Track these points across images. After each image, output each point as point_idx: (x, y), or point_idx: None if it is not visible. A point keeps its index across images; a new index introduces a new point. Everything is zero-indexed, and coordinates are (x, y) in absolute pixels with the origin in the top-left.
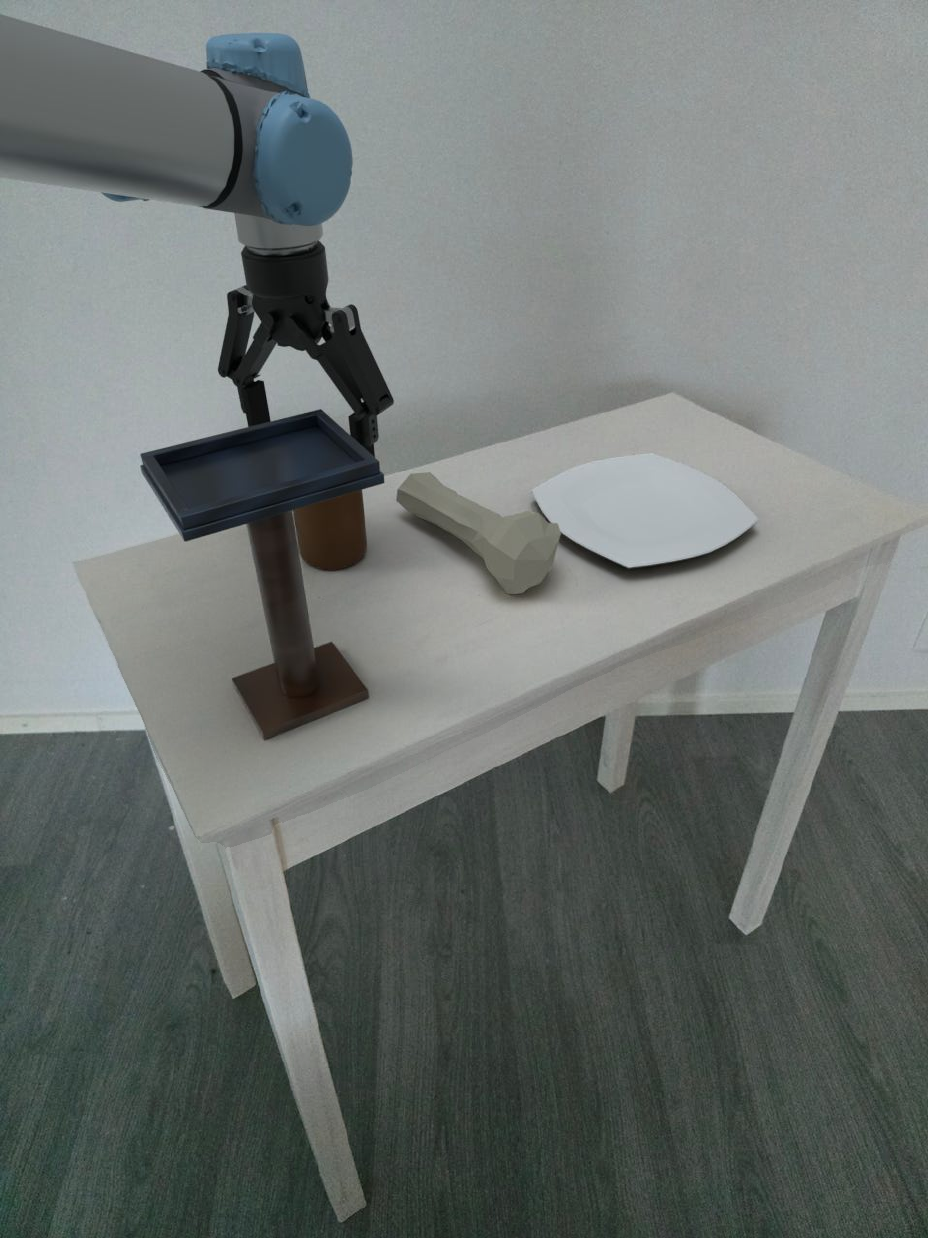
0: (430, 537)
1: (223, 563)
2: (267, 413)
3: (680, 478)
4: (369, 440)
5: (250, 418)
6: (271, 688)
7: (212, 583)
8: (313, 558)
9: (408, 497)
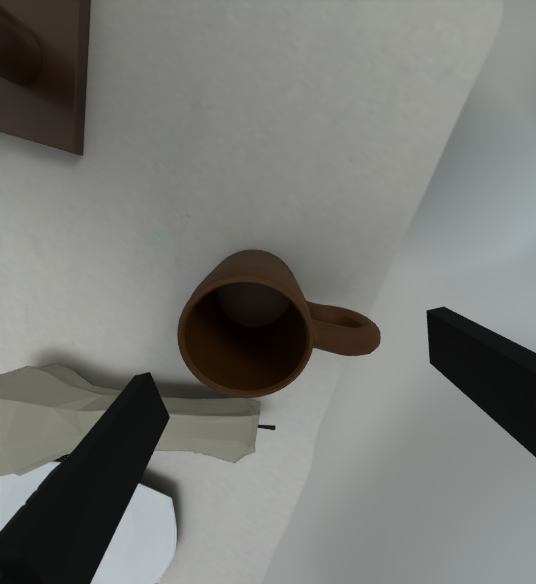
0: (199, 381)
1: (347, 171)
2: (482, 403)
3: (92, 580)
4: (50, 475)
5: (499, 348)
6: (25, 10)
7: (320, 128)
8: (238, 252)
9: (233, 412)
